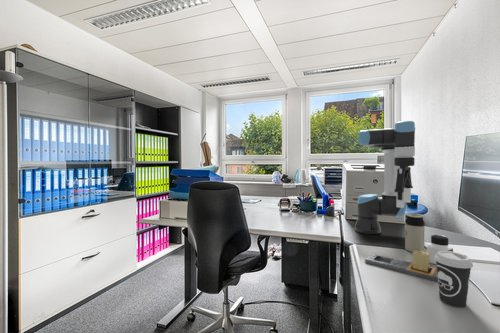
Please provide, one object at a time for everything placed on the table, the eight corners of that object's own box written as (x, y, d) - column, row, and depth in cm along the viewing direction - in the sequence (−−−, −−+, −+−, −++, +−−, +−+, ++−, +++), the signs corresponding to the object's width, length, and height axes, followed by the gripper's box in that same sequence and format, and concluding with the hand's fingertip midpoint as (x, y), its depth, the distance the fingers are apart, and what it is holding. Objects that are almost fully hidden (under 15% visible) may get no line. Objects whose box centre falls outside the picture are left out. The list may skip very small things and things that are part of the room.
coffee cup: (476, 314, 72) (476, 264, 72) (435, 304, 77) (435, 257, 77) (468, 298, 80) (469, 253, 80) (432, 290, 85) (432, 248, 85)
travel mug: (425, 250, 123) (425, 214, 123) (422, 254, 117) (423, 217, 117) (407, 246, 129) (407, 212, 128) (403, 250, 123) (403, 215, 122)
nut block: (415, 269, 102) (415, 249, 102) (429, 272, 99) (429, 252, 99) (412, 273, 99) (412, 252, 98) (427, 277, 95) (427, 255, 95)
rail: (371, 256, 116) (371, 252, 116) (441, 273, 98) (441, 269, 98) (365, 262, 109) (365, 258, 109) (438, 282, 91) (438, 277, 91)
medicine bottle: (444, 267, 103) (444, 239, 103) (426, 261, 110) (426, 234, 109) (453, 264, 107) (453, 236, 106) (434, 258, 113) (434, 232, 113)
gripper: (400, 156, 119) (400, 199, 121) (387, 157, 101) (386, 208, 102) (419, 156, 114) (418, 201, 115) (408, 157, 96) (407, 211, 97)
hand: (403, 204), depth 109 cm, fingers open, 13 cm apart
